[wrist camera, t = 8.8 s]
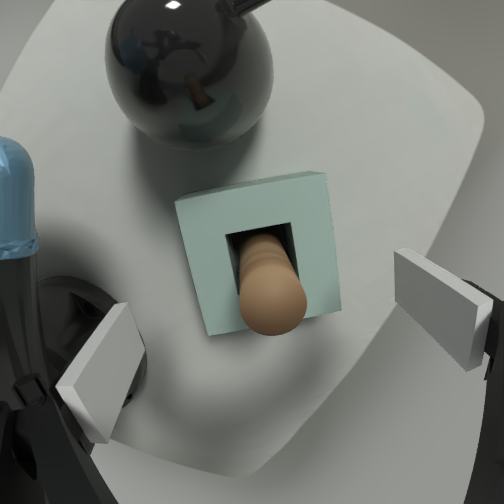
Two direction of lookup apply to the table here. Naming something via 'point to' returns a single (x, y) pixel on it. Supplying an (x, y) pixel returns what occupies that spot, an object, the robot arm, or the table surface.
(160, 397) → the table surface
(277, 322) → the peg
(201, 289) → the socket block
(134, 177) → the table surface
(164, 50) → the pump dispenser
